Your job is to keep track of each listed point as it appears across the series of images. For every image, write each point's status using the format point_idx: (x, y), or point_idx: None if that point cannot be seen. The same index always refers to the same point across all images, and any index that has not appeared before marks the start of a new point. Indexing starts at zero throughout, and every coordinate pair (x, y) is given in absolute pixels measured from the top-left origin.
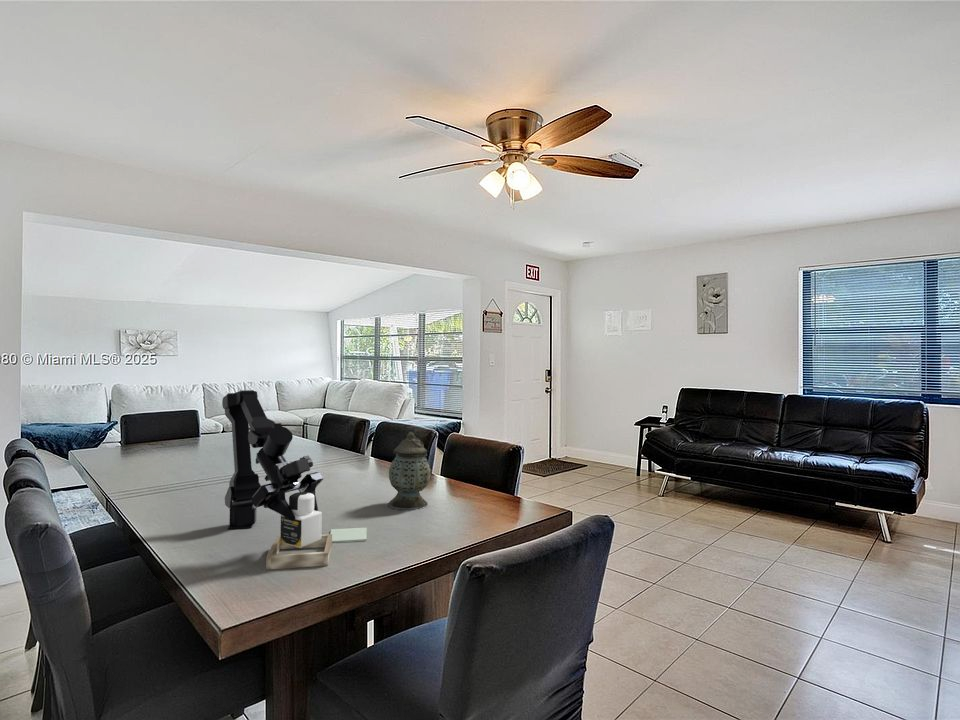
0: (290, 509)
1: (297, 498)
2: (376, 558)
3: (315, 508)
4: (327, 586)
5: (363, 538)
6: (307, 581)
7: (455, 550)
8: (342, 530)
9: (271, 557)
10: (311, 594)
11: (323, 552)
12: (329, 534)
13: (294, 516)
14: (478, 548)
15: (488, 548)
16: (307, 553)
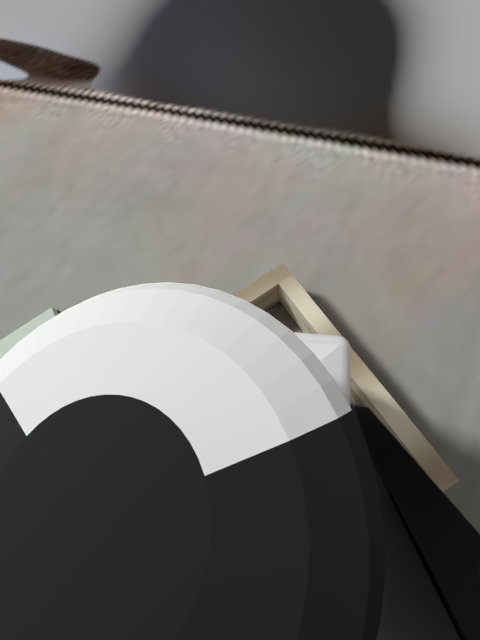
0: (396, 482)
1: (344, 432)
2: (178, 203)
3: None
4: (407, 189)
5: (47, 320)
6: (415, 256)
7: (76, 96)
8: None
9: (437, 455)
10: (477, 189)
11: (284, 281)
12: None
13: (359, 413)
14: (54, 71)
15: (51, 59)
16: (324, 327)
